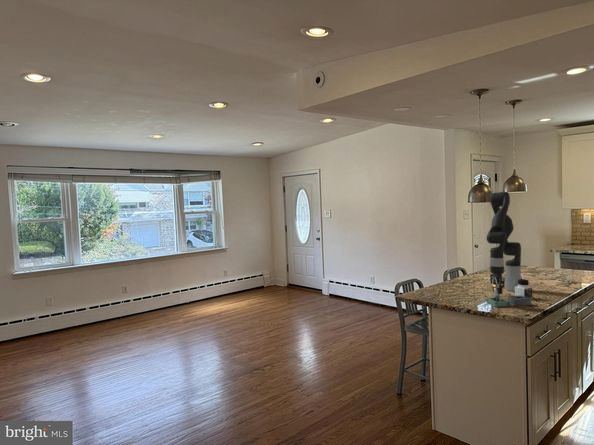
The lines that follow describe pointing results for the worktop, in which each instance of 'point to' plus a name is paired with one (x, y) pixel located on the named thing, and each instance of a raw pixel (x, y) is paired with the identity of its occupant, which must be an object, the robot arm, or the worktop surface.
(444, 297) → the worktop surface
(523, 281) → the medicine bottle
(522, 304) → the block
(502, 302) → the tray
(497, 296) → the brass-capped metal pin
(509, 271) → the robot arm
